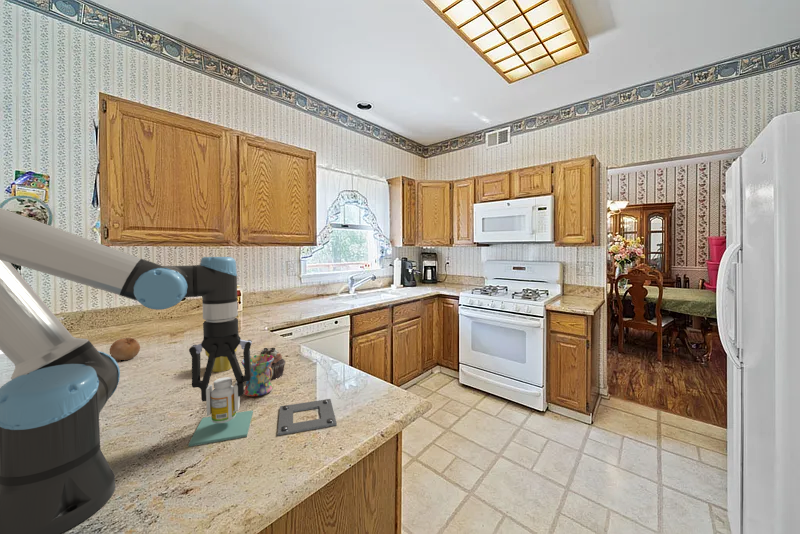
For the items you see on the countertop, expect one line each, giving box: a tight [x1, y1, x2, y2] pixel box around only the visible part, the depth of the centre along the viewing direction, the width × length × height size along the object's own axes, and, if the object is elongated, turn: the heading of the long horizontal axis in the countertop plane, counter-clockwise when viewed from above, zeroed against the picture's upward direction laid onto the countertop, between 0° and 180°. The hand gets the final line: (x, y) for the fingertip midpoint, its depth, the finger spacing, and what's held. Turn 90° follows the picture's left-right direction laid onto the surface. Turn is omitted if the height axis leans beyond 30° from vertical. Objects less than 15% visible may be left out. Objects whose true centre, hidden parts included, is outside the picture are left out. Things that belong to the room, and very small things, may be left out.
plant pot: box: [204, 347, 238, 373], centre depth 118 cm, size 10×10×10 cm
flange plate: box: [277, 398, 337, 437], centre depth 84 cm, size 14×14×1 cm
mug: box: [240, 354, 274, 397], centre depth 98 cm, size 12×9×11 cm
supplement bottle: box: [210, 376, 237, 423], centre depth 78 cm, size 5×5×10 cm
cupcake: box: [259, 347, 286, 381], centre depth 111 cm, size 10×10×10 cm
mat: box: [188, 409, 254, 447], centre depth 79 cm, size 12×12×1 cm
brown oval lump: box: [109, 337, 141, 361], centre depth 129 cm, size 10×9×10 cm
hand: (223, 410), depth 78 cm, fingers closed on supplement bottle, 5 cm apart
